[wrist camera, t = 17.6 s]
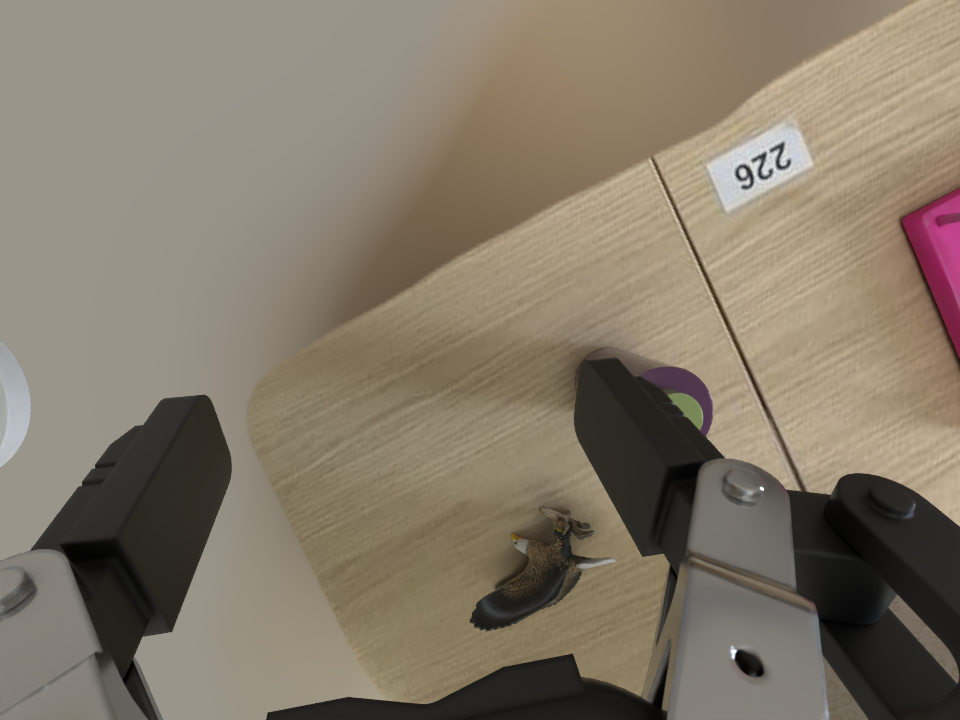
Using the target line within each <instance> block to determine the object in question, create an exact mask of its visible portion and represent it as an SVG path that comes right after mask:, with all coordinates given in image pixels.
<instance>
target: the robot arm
mask: <svg viewBox="0 0 960 720" xmlns="http://www.w3.org/2000/svg"><path fill="white" fill-rule="evenodd" d="M574 425H575V431H576V435H577V438H578V440H579V443H580V444H581V446H582V448H583V450H584V452H585V453H586V455H587V457H588V459H589V461H590V462H591V464H592V466H593V468H594V470H595V472H596V473H597V475H598V477H599V479H600V481H601V482H602V484H603V486H604V488H605V490H606V492H607V493H608V495H609V497H610V499H611V501H612V502H613V504H614V506H615V508H616V510H617V511H618V513H619V515H620V517H621V519H622V521H623V522H624V524H625V526H626V528H627V530H628V531H629V533H630V535H631V537H632V539H633V540H634V542H635V544H636V546H637V548H638V550H639V551H640V553H641V555H642V557H645V556H651V555H657V554H663V553H664V555H665V556H666V558H667V560H668V561H669V563H670V565H669V568H668V571H667V574H666V580H665V585H664V590H663V596H662V601H661V606H660V612H659V617H658V622H657V627H656V633H655V638H654V643H653V649H652V654H651V659H650V663H649V668H648V672H647V676H646V679H645V683H644V687H643V691H642V696H641V697H640V696H638V695H636V694H634V693H632V692H630V691H628V690H626V689H624V688H621V687H618V686H616V685H613V684H610V683H608V682H604V681H600V680H595V679H591V678H584V677H580V674H579V671H578V668H577V665H576V662H575V659H574V656H573V654H569V655H564V656H559V657H554V658H548V659H543V660H538V661H533V662H528V663H522V664H517V665H512V666H507V667H503V668H501V669H499V670H497V671H495V672H493V673H491V674H489V675H487V676H485V677H483V678H481V679H479V680H477V681H475V682H473V683H471V684H469V685H468V686H466V687H464V688H462V689H460V690H458V691H456V692H454V693H452V694H450V695H448V696H446V697H444V698H442V699H440V700H438V701H436V702H433V703H430V704H414V703H404V702H394V701H383V700H373V699H363V698H352V697H346V698H341V699H336V700H331V701H325V702H321V703H315V704H310V705H305V706H300V707H294V708H289V709H284V710H279V711H274V712H268V713H267V719H266V720H829V711H828V702H827V693H826V684H825V675H824V666H823V657H822V655H823V656H824V658H825V659H826V661H827V662H828V663H829V665H830V666H831V668H832V669H833V670H834V672H835V673H836V675H837V676H838V677H839V679H840V680H841V682H842V683H843V684H844V686H845V687H846V689H847V690H848V691H849V693H850V694H851V696H852V697H853V698H854V700H855V701H856V703H857V704H858V705H859V707H860V708H861V710H862V711H863V712H864V714H865V715H866V717H867V718H868V719H869V720H960V527H959V526H958V525H957V524H956V523H954V522H953V521H952V520H951V519H949V518H948V517H947V516H946V515H945V514H943V513H942V512H941V511H940V510H938V509H937V508H936V507H935V506H933V505H932V504H931V503H930V502H929V501H927V500H926V499H925V498H923V497H922V496H921V495H919V494H918V493H916V492H914V491H913V490H911V489H909V488H907V487H905V486H904V485H901V484H899V483H897V482H895V481H892V480H889V479H886V478H883V477H880V476H876V475H871V474H862V473H854V474H848V475H845V476H843V477H842V478H840V479H839V481H838V483H837V485H836V486H835V488H834V490H833V492H832V494H831V495H827V494H818V493H810V492H801V491H793V490H786V489H785V488H784V487H783V485H782V484H781V483H780V482H779V481H778V480H777V479H776V478H775V477H773V476H772V475H771V474H769V473H768V472H766V471H765V470H763V469H761V468H759V467H757V466H755V465H752V464H750V463H747V462H744V461H740V460H735V459H726V458H725V457H724V456H723V455H722V454H721V453H720V452H719V451H718V450H717V449H716V448H715V447H714V445H713V444H712V443H711V442H710V441H709V440H708V439H707V438H706V437H705V436H704V435H703V433H702V432H701V431H700V430H699V429H698V428H697V427H696V426H695V425H694V424H693V423H692V421H691V420H690V419H689V418H688V417H685V416H684V413H683V412H682V411H681V410H680V408H679V407H678V406H677V405H674V404H673V401H672V400H671V399H670V398H669V396H668V395H667V394H666V393H665V392H664V391H663V390H662V389H661V388H660V387H659V386H657V385H655V384H653V383H652V382H650V381H648V380H646V379H645V378H643V377H641V376H636V377H634V376H633V375H632V373H631V372H630V371H629V370H628V369H627V368H626V366H625V365H624V364H623V363H622V362H621V361H620V360H619V359H618V358H616V357H612V358H601V359H591V360H584V361H583V362H582V364H581V366H580V371H579V379H578V387H577V396H576V404H575V412H574ZM231 471H232V464H231V456H230V452H229V449H228V446H227V443H226V440H225V437H224V435H223V432H222V429H221V426H220V423H219V420H218V417H217V415H216V412H215V409H214V406H213V403H212V402H211V400H210V398H209V397H208V396H206V395H196V396H186V397H175V398H165V399H163V400H161V401H160V402H159V403H158V405H157V406H156V408H155V409H154V411H153V412H152V414H151V415H150V416H149V418H148V419H147V421H146V422H145V423H144V425H141V426H135V427H133V428H132V429H131V430H130V431H128V432H127V433H125V434H124V435H123V436H121V437H120V438H119V439H117V440H116V441H115V442H113V443H112V444H111V445H110V446H109V447H108V448H107V450H106V451H105V453H104V454H103V455H102V456H101V458H100V459H99V460H98V462H97V463H96V464H95V469H92V470H91V471H90V472H89V474H88V475H87V476H86V478H85V479H84V480H83V481H82V486H80V487H78V488H77V489H76V491H75V492H74V493H73V495H72V496H71V497H70V499H69V500H68V501H67V503H66V504H65V505H64V507H63V508H62V509H61V511H60V512H59V513H58V515H57V516H56V517H55V518H54V520H53V521H52V522H51V524H50V525H49V526H48V528H47V529H46V530H45V532H44V533H43V534H42V536H41V537H40V538H39V539H38V541H37V542H36V544H35V545H34V546H33V547H32V549H31V550H30V551H27V552H24V553H20V554H17V555H14V556H11V557H8V558H6V559H4V560H1V561H0V720H163V719H162V717H161V714H160V712H159V709H158V707H157V705H156V702H155V700H154V698H153V696H152V693H151V691H150V689H149V687H148V684H147V682H146V679H145V677H144V675H143V673H142V670H141V668H140V666H139V664H138V662H137V660H136V659H135V658H134V655H135V653H136V650H137V648H138V646H139V644H140V641H141V639H142V637H143V636H150V635H156V634H162V633H168V632H172V630H173V628H174V625H175V623H176V620H177V617H178V614H179V612H180V610H181V607H182V604H183V602H184V599H185V596H186V594H187V591H188V589H189V586H190V584H191V581H192V579H193V576H194V573H195V571H196V568H197V565H198V563H199V560H200V558H201V555H202V553H203V550H204V547H205V545H206V542H207V540H208V537H209V534H210V532H211V529H212V527H213V524H214V522H215V519H216V516H217V514H218V511H219V509H220V506H221V503H222V501H223V498H224V495H225V493H226V490H227V488H228V485H229V482H230V478H231ZM897 595H898V596H899V597H900V598H901V599H902V600H903V601H904V602H905V603H906V604H907V605H908V606H909V607H910V608H911V609H912V610H913V611H914V613H915V614H916V615H917V616H918V617H919V618H920V619H921V620H922V621H923V622H924V623H925V624H926V625H927V626H928V627H929V628H930V629H931V631H932V632H933V633H934V634H935V635H936V636H937V637H938V638H939V639H940V640H941V641H942V642H943V643H944V645H945V646H946V647H947V648H948V650H949V651H950V652H951V654H952V656H953V657H954V659H955V662H956V664H957V667H958V671H959V681H958V684H957V683H956V682H955V681H954V679H953V678H952V677H951V676H950V675H949V674H948V673H947V672H946V671H945V669H944V668H943V667H942V666H941V665H940V664H939V663H938V662H937V661H936V659H935V658H934V657H933V656H932V655H931V654H930V653H929V652H928V651H927V650H926V648H925V647H924V646H923V645H922V644H921V643H920V642H919V641H918V640H917V638H916V637H915V636H914V635H913V634H912V633H911V632H910V631H909V630H908V629H907V627H906V626H905V625H904V624H903V623H902V622H901V621H900V620H899V619H898V617H897V616H896V615H895V614H894V613H893V612H892V611H891V610H890V609H889V605H890V604H891V603H892V601H893V600H894V599H895V597H896V596H897Z"/></svg>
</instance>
